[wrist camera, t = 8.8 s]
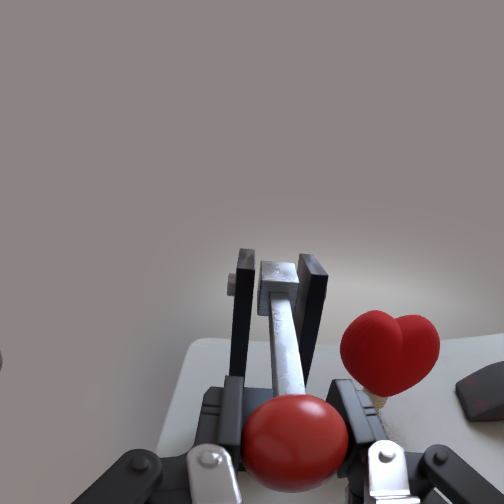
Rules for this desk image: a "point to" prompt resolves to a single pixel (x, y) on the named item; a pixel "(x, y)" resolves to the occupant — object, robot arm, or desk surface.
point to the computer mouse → (483, 393)
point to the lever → (289, 402)
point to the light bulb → (389, 353)
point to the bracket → (304, 319)
